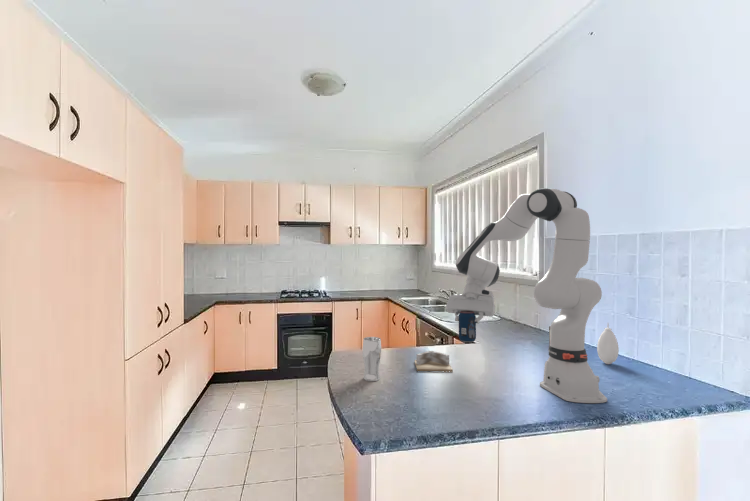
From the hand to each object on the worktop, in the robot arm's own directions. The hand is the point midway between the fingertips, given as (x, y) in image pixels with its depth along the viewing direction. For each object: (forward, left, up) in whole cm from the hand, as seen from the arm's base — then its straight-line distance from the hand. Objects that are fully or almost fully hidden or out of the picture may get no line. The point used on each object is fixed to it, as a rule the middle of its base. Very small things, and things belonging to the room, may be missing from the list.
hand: (466, 321), depth 160 cm
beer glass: (-15, +39, -19) cm, 46 cm away
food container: (+35, -53, -19) cm, 67 cm away
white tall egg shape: (+10, -63, -19) cm, 67 cm away
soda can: (0, 0, -8) cm, 8 cm away
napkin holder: (+1, +14, -19) cm, 24 cm away
